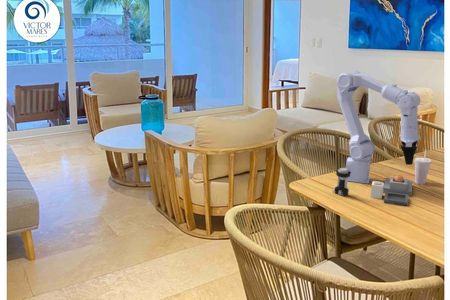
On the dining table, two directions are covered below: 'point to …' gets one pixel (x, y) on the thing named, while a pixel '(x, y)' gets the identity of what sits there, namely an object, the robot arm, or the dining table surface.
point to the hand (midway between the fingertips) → (409, 161)
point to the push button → (342, 181)
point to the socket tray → (396, 198)
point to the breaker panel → (398, 186)
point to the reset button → (398, 178)
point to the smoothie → (421, 169)
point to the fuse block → (377, 190)
